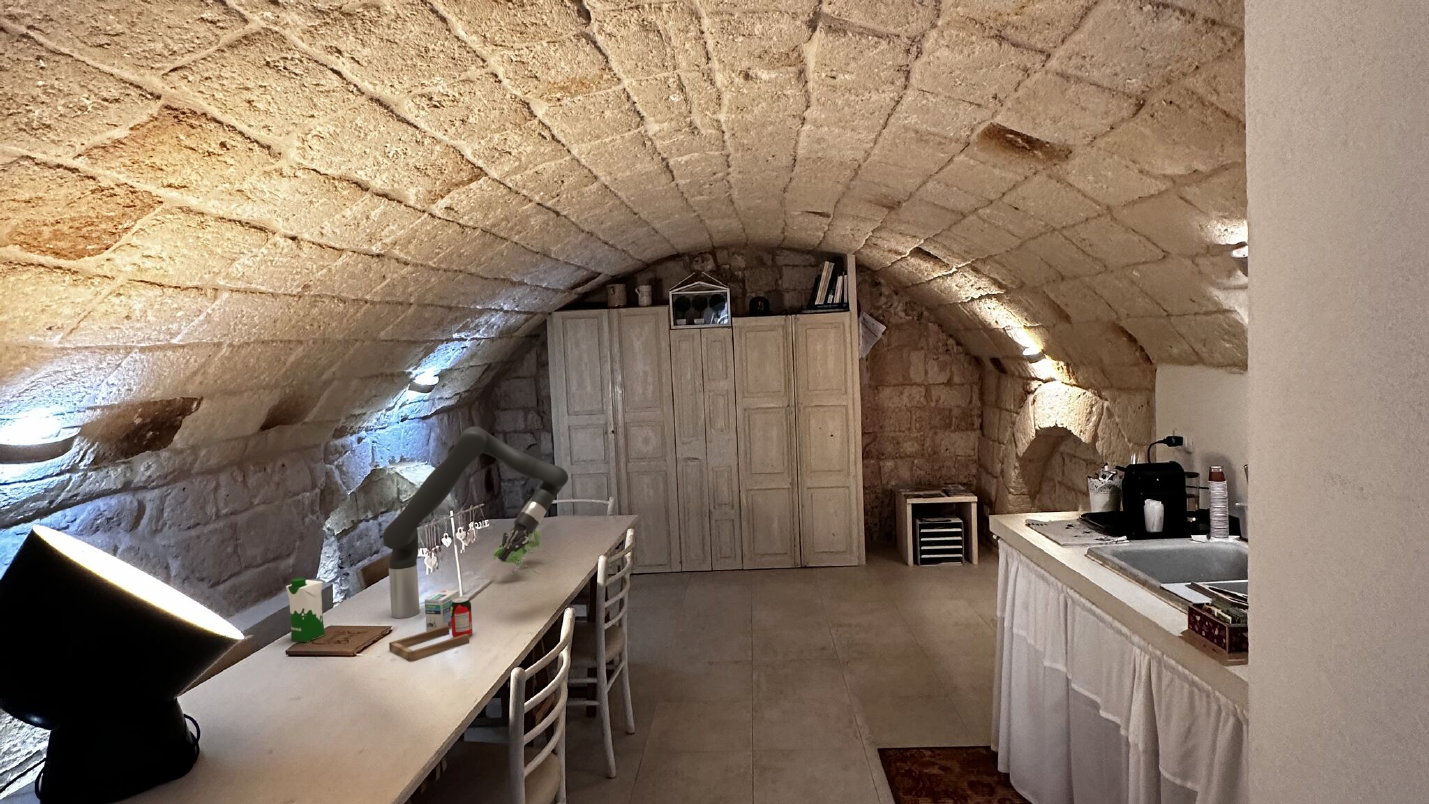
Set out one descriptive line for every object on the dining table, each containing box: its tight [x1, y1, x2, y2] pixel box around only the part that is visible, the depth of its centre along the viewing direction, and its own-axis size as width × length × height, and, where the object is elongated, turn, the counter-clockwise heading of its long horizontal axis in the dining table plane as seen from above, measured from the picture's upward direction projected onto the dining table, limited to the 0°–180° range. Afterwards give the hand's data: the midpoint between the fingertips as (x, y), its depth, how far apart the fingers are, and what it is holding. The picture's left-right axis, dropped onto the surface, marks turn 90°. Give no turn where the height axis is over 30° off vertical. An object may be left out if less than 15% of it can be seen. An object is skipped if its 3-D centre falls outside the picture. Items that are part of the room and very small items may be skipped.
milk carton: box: [285, 577, 326, 643], centre depth 249 cm, size 9×9×20 cm
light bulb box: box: [424, 589, 460, 632], centre depth 256 cm, size 11×7×11 cm, turn 168°
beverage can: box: [450, 596, 474, 638], centre depth 245 cm, size 6×6×12 cm
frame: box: [388, 625, 470, 662], centre depth 238 cm, size 14×19×2 cm
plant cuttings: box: [492, 528, 557, 578], centre depth 316 cm, size 35×17×22 cm
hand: (501, 560), depth 256 cm, fingers closed
